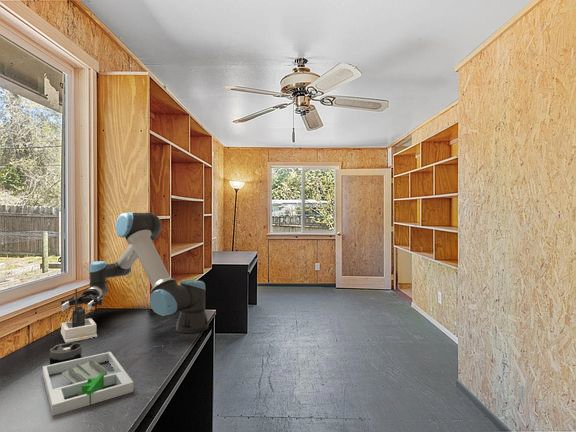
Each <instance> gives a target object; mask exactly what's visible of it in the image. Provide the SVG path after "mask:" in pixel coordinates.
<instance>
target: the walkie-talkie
mask: <svg viewBox="0 0 576 432" xmlns="http://www.w3.org/2000/svg"><path fill="white" fill-rule="evenodd" d="M74 296H75V305H74V309H73V310H72V315H71V317H72V320H71V321H72V328H74V327H80V326H85V319H86V310H85V307H84V308H83V305H80V306H79V305H78V304H77V297H78V288H75V292H74Z"/></svg>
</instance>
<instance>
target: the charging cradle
mask: <svg viewBox="0 0 576 432" xmlns="http://www.w3.org/2000/svg"><path fill="white" fill-rule="evenodd" d="M60 327H61V329H60V334H61V337H62V338H63V341H64V342H65V343H75V342H78V341H85V340H89V338H90V339H94V338H93V337H95V338H98V333H97V323H96V322H95V321H94V320H93V318H92V317H90V318H85V326H80V327H74V328H72V320H71V321H65V322H61V326H60ZM65 343H64V344H65Z"/></svg>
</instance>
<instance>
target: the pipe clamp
mask: <svg viewBox="0 0 576 432" xmlns="http://www.w3.org/2000/svg"><path fill="white" fill-rule="evenodd" d="M104 387H105V386H104V373H103V374H100V375H99V376H98V377H97V378H88V384H86V385H83V386H82V395H84V394H87V395H89V403H90V405H89V406H91V405H92V404H91V394H92V392H95V391H98V390H102V389H104Z"/></svg>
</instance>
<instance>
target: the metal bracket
mask: <svg viewBox="0 0 576 432" xmlns="http://www.w3.org/2000/svg"><path fill="white" fill-rule="evenodd" d="M103 373H104V376H106V375H110V374H114V373H117V371H115V370H113V371H111V372H110V371H109V370H108V369H107V368H105V367H104V366H102V365H101V364H100V363H96V362H95V361H94V360H93V359H92V360H90V362H88V363H85V364H83V365H80V364H78V363H77V367H75V368H72V367H71V368H69V370H68V371H64V372H61V375H62V376H64V377H65V378H66V379H67V380H68V381H70V383H72V384H75V383H79V382H83V381H86V380H88V378H97V377H98V376H99V375H100V374H103ZM75 395H77V396H80V395H82V392H76V394H75Z"/></svg>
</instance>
